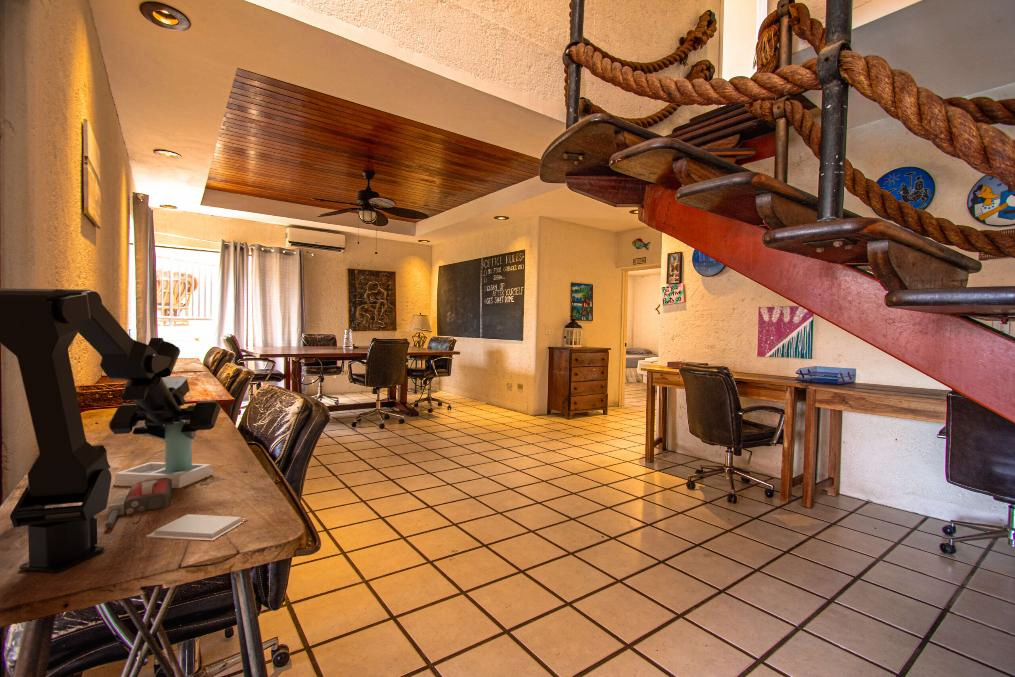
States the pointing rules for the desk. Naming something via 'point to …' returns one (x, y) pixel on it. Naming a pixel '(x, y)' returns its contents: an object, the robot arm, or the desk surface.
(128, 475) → the housing
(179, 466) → the green banded cylinder
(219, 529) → the lid
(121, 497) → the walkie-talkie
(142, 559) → the desk surface
